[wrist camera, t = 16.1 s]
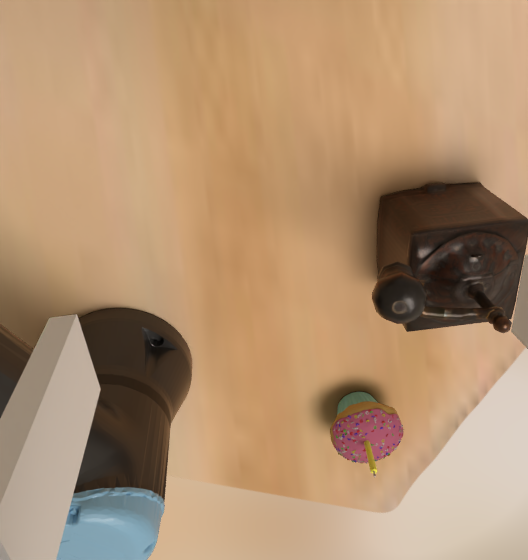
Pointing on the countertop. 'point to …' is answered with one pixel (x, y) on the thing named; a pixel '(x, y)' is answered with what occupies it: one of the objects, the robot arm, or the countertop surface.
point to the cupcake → (365, 429)
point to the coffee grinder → (448, 257)
